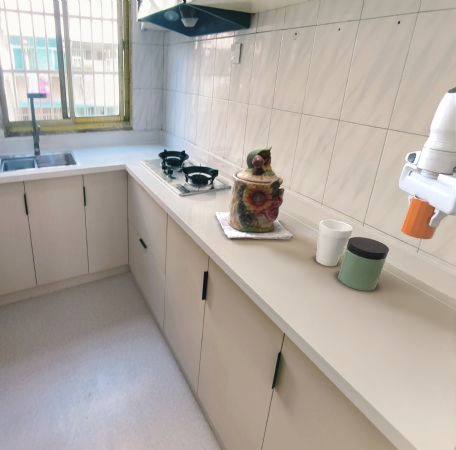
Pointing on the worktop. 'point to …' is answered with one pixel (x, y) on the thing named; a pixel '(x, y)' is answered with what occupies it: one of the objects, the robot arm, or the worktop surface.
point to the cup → (418, 219)
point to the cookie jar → (255, 201)
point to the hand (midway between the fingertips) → (421, 219)
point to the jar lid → (367, 248)
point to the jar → (360, 271)
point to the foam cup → (332, 241)
